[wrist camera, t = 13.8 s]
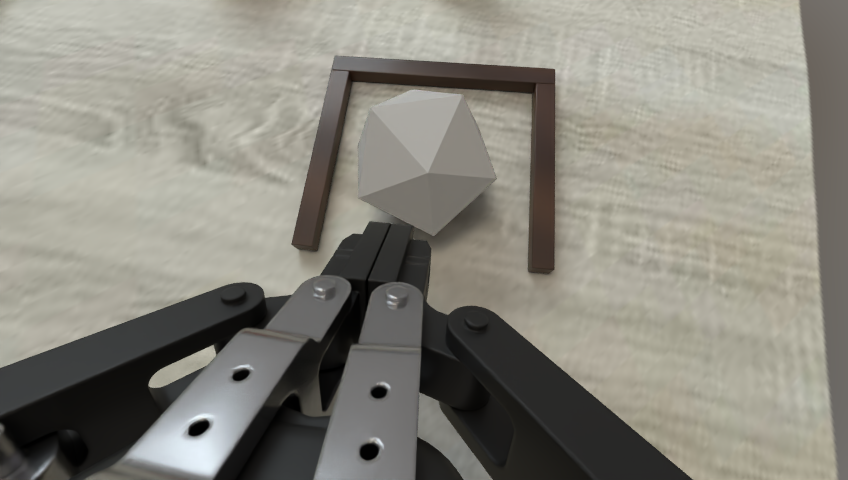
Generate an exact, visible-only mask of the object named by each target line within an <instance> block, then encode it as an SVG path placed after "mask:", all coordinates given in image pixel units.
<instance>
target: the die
mask: <svg viewBox="0 0 848 480" xmlns="http://www.w3.org/2000/svg"><path fill="white" fill-rule="evenodd" d="M496 179H497V178H496V175H495V172H494V169H493V166H492V164H491V161H490V158H489V155H488V152H487V150H486V147H485V144H484V141H483V138H482V136H481V133H480V130H479V128H478V125H477V123H476V121H475V119H474V117H473V115H472V113H471V111H470V109H469V107H468V105H467V102H466V100H465V98H464V96H463V95H461V94H451V93H442V92H432V91H423V90H414V89H412V90H410V91H407V92H405V93H403V94H400V95H398V96H396V97H393V98H391V99H389V100H386V101H384V102H382V103H379V104H377V105H375V106H372V107H370V109H369V112H368V116H367V119H366V122H365V125H364V128H363V131H362V134H361V137H360V141H359V144H358V198H359V199H361V200H363V201H365V202H367V203H369V204H371V205H373V206H375V207H377V208H379V209H381V210H383V211H385V212H387V213H389V214H391V215H393V216H395V217H397V218H399V219H401V220H403V221H405V222H407V223H409V224H411V225H413V226H415V227H417V228H419V229H421V230H423V231H425V232H427V233H429V234H430V235H432V236H434V235H435V234H437V233H438V232H439V231H440V230H441V229H442V228H443V227H444V226H445V225H447V224H448V223H449V222H450V221H451V220H452V219H453V218H454V217H455V216H456V215H458V214H459V213H460V212H461V211H462V210H463V209H464V208H465V207H466V206H467V205H469V204H470V203H471V202H472V201H473V200H474V199H475V198H476V197H477V196H478V195H480V194H481V193H482V192H483V191H484V190H485V189H486V188H487V187H488V186H489V185H491V184H492V183H493V182H494V181H495V180H496Z"/></svg>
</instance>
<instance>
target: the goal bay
mask: <svg viewBox="0 0 848 480" xmlns="http://www.w3.org/2000/svg"><path fill="white" fill-rule="evenodd" d="M352 81H360V82H376V83H391V84H406V85H422V86H437V87H452V88H468V89H483V90H498V91H514V92H529V93H533V95H532V134H531V172H530V211H529V250H528V271H529V272H537V273H548V274H549V273H551V272H552V271H553V270H554V241H555V69H547V68H530V67H514V66H498V65H481V64H465V63H448V62H432V61H415V60H399V59H382V58H366V57H349V56H335V57H334V62H333V66H332V70H331V74H330V78H329V83H328V87H327V92H326V96H325V100H324V105H323V109H322V113H321V118H320V122H319V126H318V131H317V135H316V140H315V144H314V148H313V153H312V157H311V161H310V166H309V170H308V174H307V179H306V183H305V187H304V192H303V196H302V201H301V205H300V209H299V214H298V218H297V222H296V227H295V231H294V235H293V240H292V245H293V246H294V247H296V248H297V249H302V250H312V251H317V250H318V245H319V240H320V235H321V230H322V226H323V221H324V216H325V211H326V206H327V201H328V196H329V192H330V187H331V182H332V177H333V172H334V167H335V162H336V158H337V153H338V148H339V143H340V138H341V133H342V128H343V124H344V119H345V114H346V109H347V104H348V99H349V94H350V90H351V85H352Z"/></svg>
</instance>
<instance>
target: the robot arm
mask: <svg viewBox="0 0 848 480" xmlns="http://www.w3.org/2000/svg"><path fill="white" fill-rule="evenodd" d="M413 237H414V226H413V225H403V224H391V223H382V222H372V221H370V222H369V223H368V225H367V227H366V229H365V231H364V232H363V234H352V235H350V236H349V237H347V238H345V239H344V240H343V241H342V242H341V244H340V245H339V247H338V250H336V251H335V253H334V255H333V256H332V258H331V259H330V261H329V262H328V264H327V265H326V267H325V269H324V270H323V272H322V273H321V275H320V276H317V277H313V278H311V279H308V280H307V281H305V282H304V283H302V284H301V285H300V286H299V288H298V289H297V290H296V291H295V292H294V294H293V295H288V296H279V297H269V298H265V296H264V291H263V289H262V288H261V287H260V286H258V285H256V284H253V283H245V282H242V283H233V284H229V285H226V286H223V287H220V288H217V289H214V290H212V291H209V292H206V293H204V294H201V295H198V296H195V297H193V298H190V299H187V300H185V301H182V302H179V303H176V304H174V305H171V306H168V307H165V308H163V309H160V310H157V311H155V312H152V313H149V314H146V315H144V316H141V317H138V318H136V319H133V320H130V321H127V322H125V323H122V324H119V325H117V326H114V327H111V328H108V329H106V330H103V331H100V332H97V333H95V334H92V335H89V336H87V337H84V338H81V339H78V340H76V341H73V342H70V343H68V344H65V345H62V346H59V347H57V348H54V349H51V350H48V351H46V352H43V353H40V354H38V355H35V356H32V357H29V358H27V359H24V360H21V361H19V362H16V363H13V364H10V365H8V366H5V367H2V368H0V480H463V478H462V477H461V475H460V474H459V472H458V471H457V469H456V468H455V467H454V466H453V465H452V463H451V462H450V461H449V460H448V459H447V458H446V457H445V456H444V455H443V454H442V453H441V452H440V451H439V450H437V449H436V448H435V447H433V446H432V445H430V444H429V443H427V442H426V441H424V440H422V439H420V438H419V437H417V430H418V409H419V392H420V393H422V394H425V395H427V396H429V397H431V398H434V399H436V400H438V401H439V405H440V408H441V410H442V412H443V413H444V414H445V416H446V417H447V419H448V420H449V421H450V423H451V424H452V425H453V427H454V428H455V429H456V431H457V432H458V433H459V435H460V436H461V437H462V439H463V440H464V441H465V443H466V444H467V445H468V447H469V448H470V449H471V451H472V452H473V453H474V455H475V456H476V458H477V459H478V460H479V462H480V463H481V464H482V466H483V467H484V468H485V470H486V471H487V472H488V474H489V475H490V476H491V478H492V479H493V480H693V479H691V478H690V477H689V476H688V475H687V474H685V473H684V472H683V471H682V470H681V469H680V468H678V467H677V466H676V465H675V464H674V463H672V462H671V461H670V460H669V459H668V458H666V457H665V456H664V455H663V454H662V453H661V452H659V451H658V450H657V449H656V448H655V447H653V446H652V445H651V444H650V443H649V442H647V441H646V440H645V439H644V438H643V437H642V436H640V435H639V434H638V433H637V432H636V431H634V430H633V429H632V428H631V427H630V426H628V425H627V424H626V423H625V422H624V421H623V420H621V419H620V418H619V417H618V416H617V415H615V414H614V413H613V412H612V411H611V410H609V409H608V408H607V407H606V406H605V405H604V404H602V403H601V402H600V401H599V400H598V399H596V398H595V397H594V396H593V395H592V394H590V393H589V392H588V391H587V390H586V389H585V388H583V387H582V386H581V385H580V384H579V383H577V382H576V381H575V380H574V379H573V378H571V377H570V376H569V375H568V374H567V373H566V372H564V371H563V370H562V369H561V368H560V367H558V366H557V365H556V364H555V363H554V362H552V361H551V360H550V359H549V358H548V357H547V356H545V355H544V354H543V353H542V352H541V351H539V350H538V349H537V348H536V347H535V346H533V345H532V344H531V343H530V342H529V341H528V340H526V339H525V338H524V337H523V336H522V335H520V334H519V333H518V332H517V331H516V330H514V329H513V328H512V327H511V326H510V325H509V324H507V323H506V322H505V321H504V320H503V319H501V318H500V317H499V316H498V315H497V314H495V313H494V312H492V311H490V310H488V309H486V308H482V307H478V306H464V307H460V308H457V309H455V310H454V311H452V312H451V313H450V314H449V315H446V314H443V313H441V312H438V311H436V310H435V309H433V308H432V307H430V306H429V305H428V304H427V302H426V301H427V295H428V288H429V277H430V264H431V250H432V249H431V247H430V245H429V244H428V242H427V241H424V240H414V239H413ZM211 345H214V348H215V351H216V357H215V358H214V359H213V360H212V361H211V362H210V363H209V364H208V365H207V366H205V367H203V368H201V369H199V370H197V371H195V372H193V373H191V374H189V375H187V376H185V377H183V378H181V379H179V380H176V381H174V382H172V383H170V384H168V385H166V386H164V387H160V388H151V387H149V386H148V384H149V381H150V379H151V377H152V376H153V375H154V374H155V373H156V372H157V371H158V370H160V369H162V368H164V367H166V366H168V365H170V364H172V363H174V362H177V361H179V360H181V359H183V358H185V357H187V356H190V355H192V354H194V353H196V352H198V351H201V350H203V349H205V348H207V347H209V346H211Z"/></svg>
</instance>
